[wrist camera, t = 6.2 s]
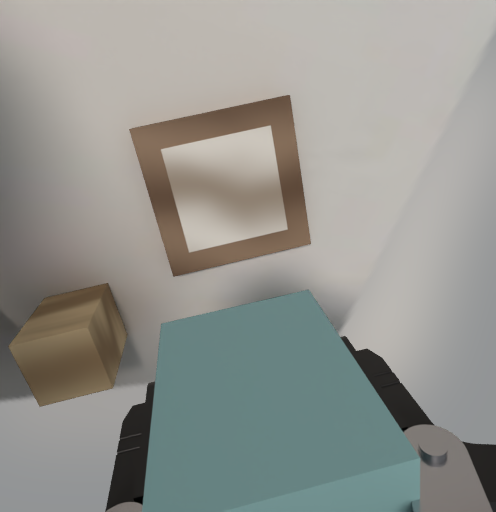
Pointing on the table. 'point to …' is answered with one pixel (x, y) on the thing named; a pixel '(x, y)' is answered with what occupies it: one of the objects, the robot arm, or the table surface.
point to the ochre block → (71, 345)
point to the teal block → (271, 418)
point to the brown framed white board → (225, 184)
